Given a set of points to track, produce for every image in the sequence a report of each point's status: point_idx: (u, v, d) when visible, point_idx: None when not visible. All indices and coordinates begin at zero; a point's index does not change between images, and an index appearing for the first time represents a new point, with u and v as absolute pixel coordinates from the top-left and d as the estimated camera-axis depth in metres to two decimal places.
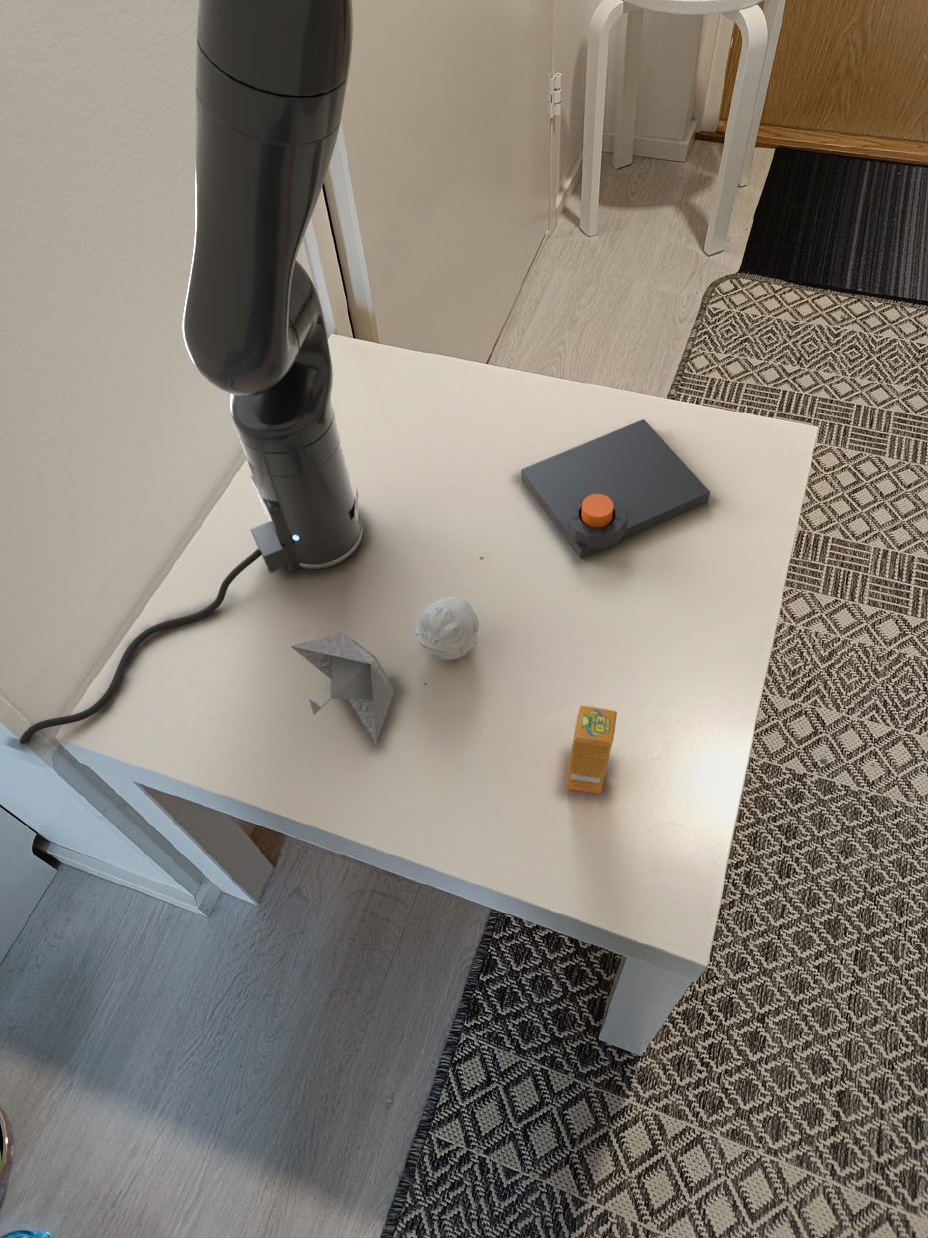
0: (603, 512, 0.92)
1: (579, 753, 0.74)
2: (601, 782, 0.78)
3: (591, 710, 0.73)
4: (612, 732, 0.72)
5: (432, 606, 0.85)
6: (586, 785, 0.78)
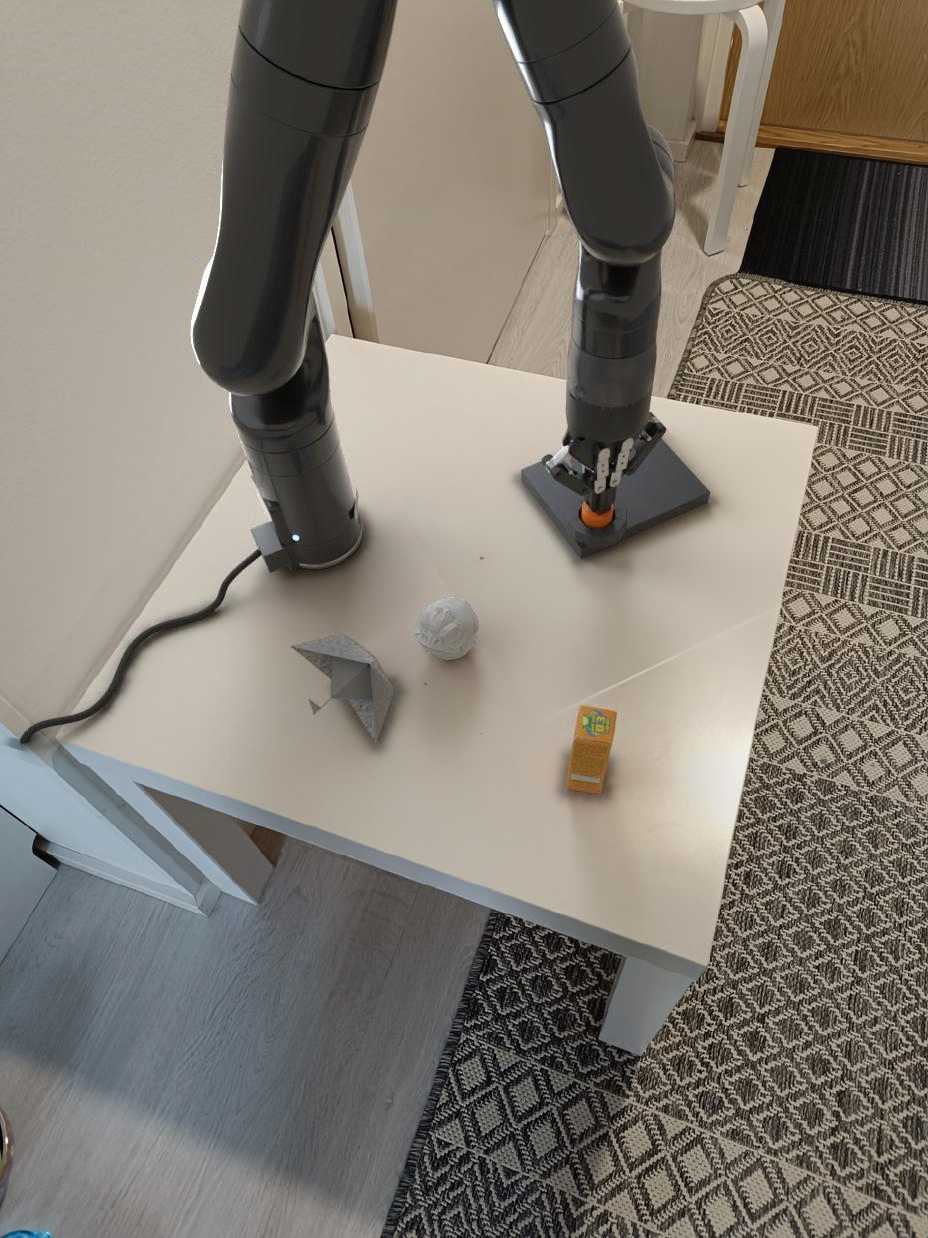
0: (603, 514, 0.92)
1: (579, 753, 0.74)
2: (601, 782, 0.78)
3: (591, 710, 0.73)
4: (612, 732, 0.72)
5: (432, 606, 0.85)
6: (586, 785, 0.78)
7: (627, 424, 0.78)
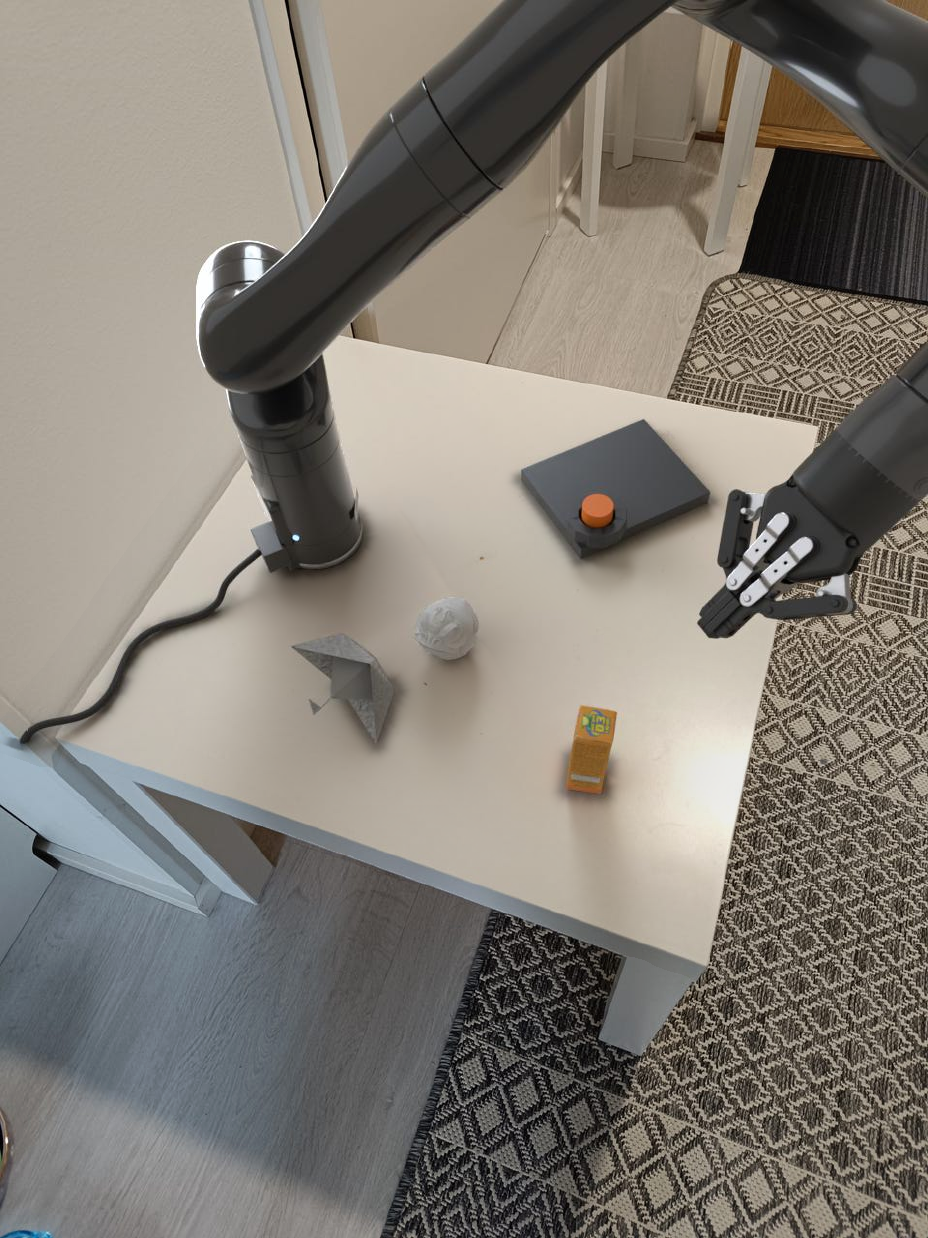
0: (603, 512, 0.92)
1: (579, 753, 0.74)
2: (601, 782, 0.78)
3: (591, 710, 0.73)
4: (612, 732, 0.72)
5: (432, 606, 0.85)
6: (586, 785, 0.78)
7: (828, 475, 0.60)
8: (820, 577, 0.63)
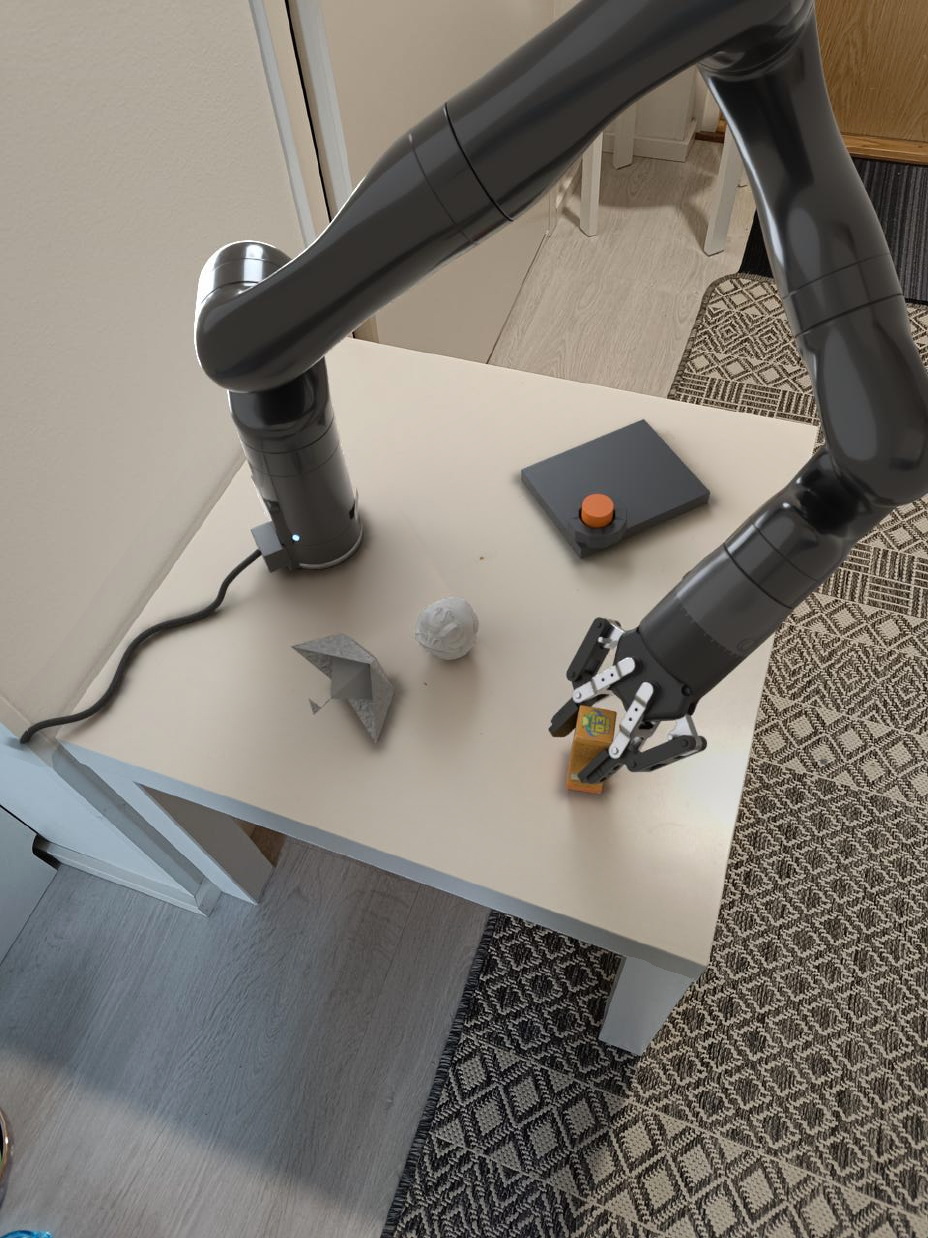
0: (603, 512, 0.92)
1: (579, 753, 0.74)
2: None
3: (591, 710, 0.73)
4: (612, 732, 0.72)
5: (432, 606, 0.85)
6: (586, 785, 0.78)
7: (663, 631, 0.66)
8: (661, 719, 0.69)
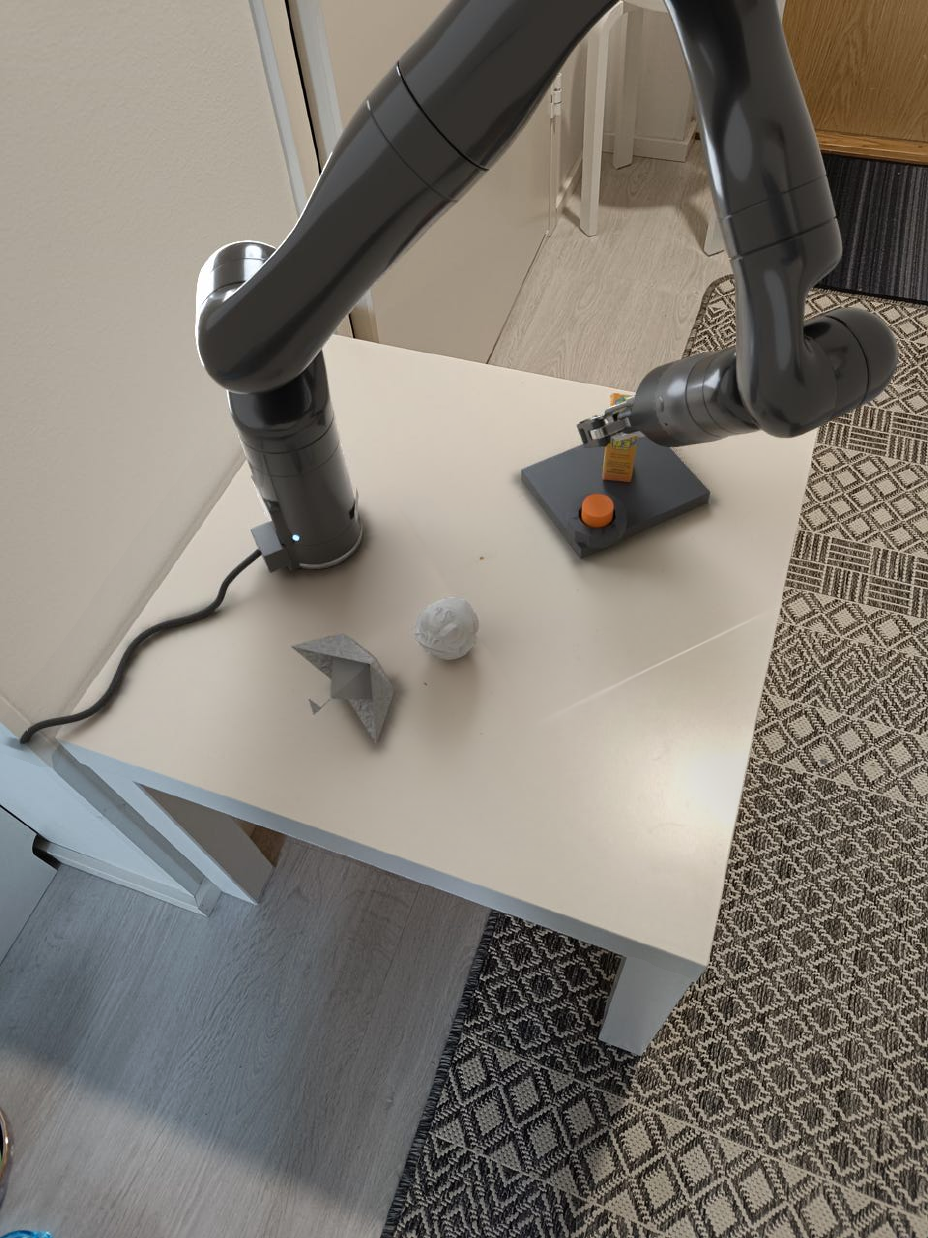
0: (603, 512, 0.92)
1: None
2: (604, 462, 0.96)
3: None
4: None
5: (432, 606, 0.85)
6: None
7: (670, 362, 0.80)
8: None
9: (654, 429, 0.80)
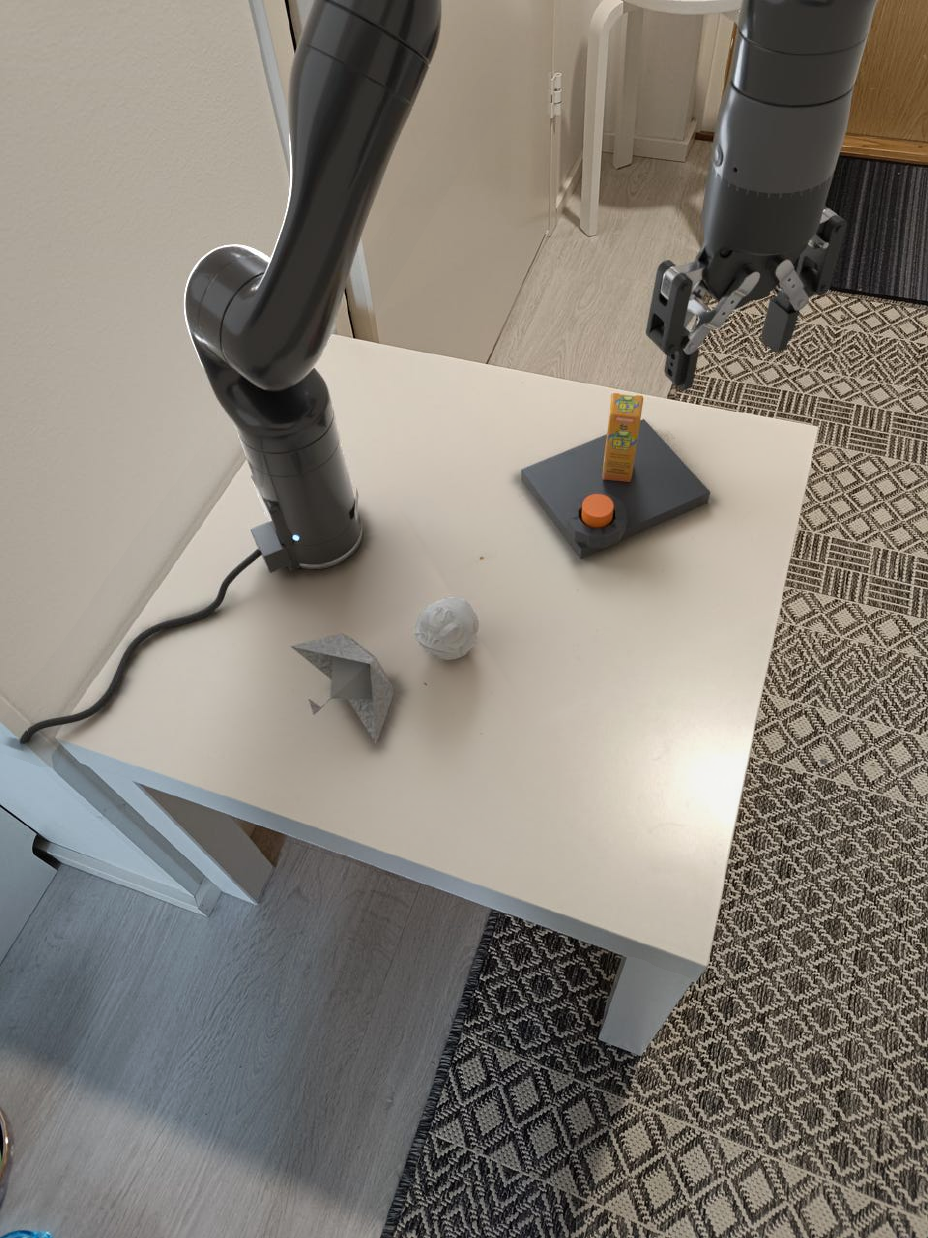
0: (603, 512, 0.92)
1: None
2: (604, 462, 0.96)
3: (638, 401, 0.91)
4: (620, 414, 0.90)
5: (432, 606, 0.85)
6: None
7: None
8: (701, 281, 0.62)
9: (731, 210, 0.56)
